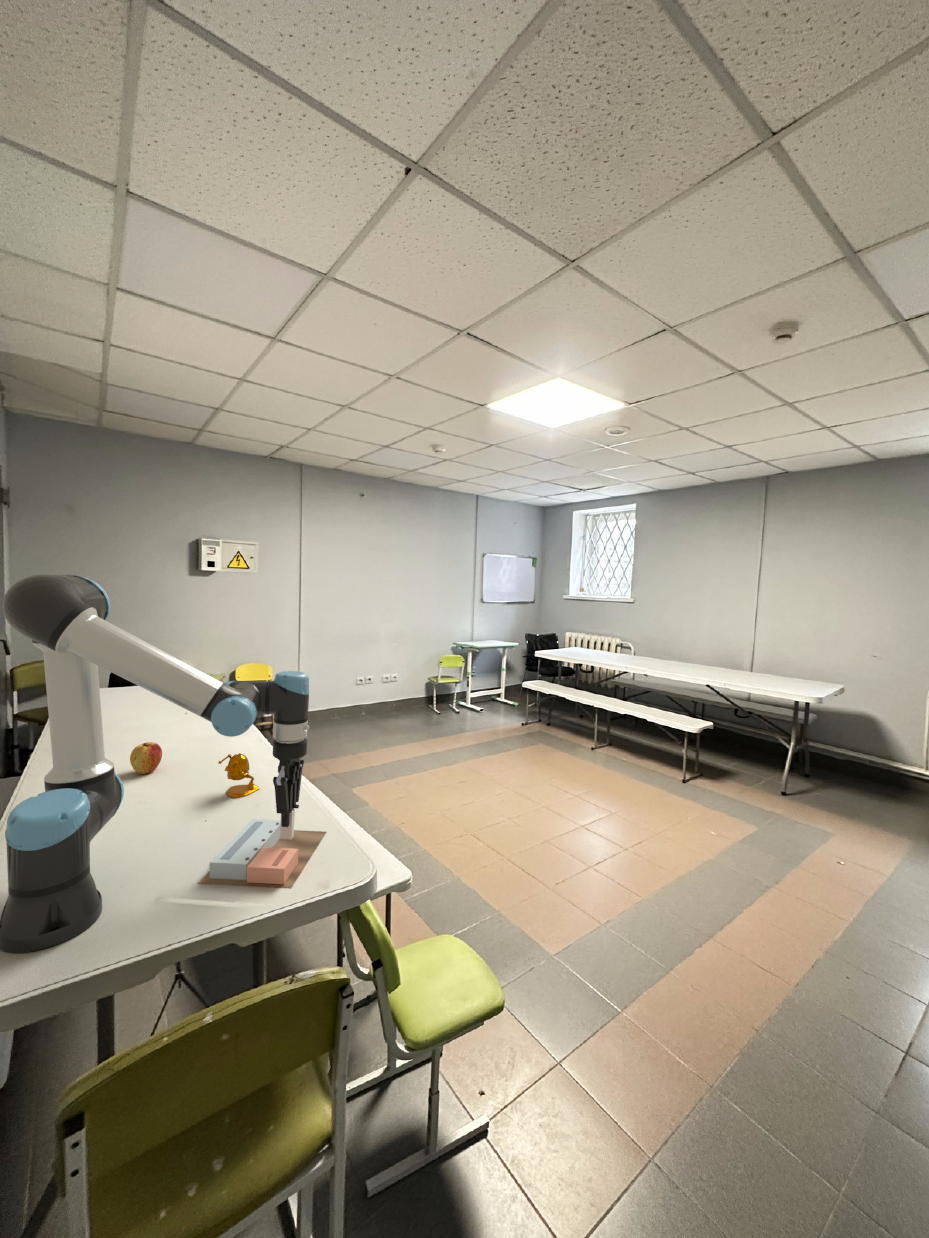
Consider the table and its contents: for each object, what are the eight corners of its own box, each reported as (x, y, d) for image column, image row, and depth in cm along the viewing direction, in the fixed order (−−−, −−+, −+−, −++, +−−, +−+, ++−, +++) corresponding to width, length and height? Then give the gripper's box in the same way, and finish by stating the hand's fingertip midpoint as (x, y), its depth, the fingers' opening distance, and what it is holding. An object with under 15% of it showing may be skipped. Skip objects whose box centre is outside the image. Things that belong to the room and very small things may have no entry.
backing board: (291, 891, 104) (291, 888, 104) (197, 886, 105) (197, 883, 105) (326, 834, 128) (326, 831, 128) (250, 830, 129) (250, 827, 129)
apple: (159, 775, 163) (158, 745, 162) (126, 778, 159) (126, 748, 159) (164, 766, 171) (164, 737, 170) (133, 768, 168) (133, 739, 167)
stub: (284, 884, 105) (284, 868, 105) (246, 882, 105) (246, 866, 105) (298, 863, 113) (298, 848, 113) (263, 861, 113) (263, 846, 113)
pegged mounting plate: (246, 879, 106) (246, 863, 106) (209, 878, 107) (209, 861, 106) (283, 833, 126) (283, 819, 126) (252, 832, 127) (252, 818, 126)
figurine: (217, 791, 152) (217, 753, 151) (254, 783, 159) (254, 746, 158) (225, 801, 145) (225, 761, 145) (263, 792, 152) (263, 754, 151)
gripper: (295, 748, 109) (292, 853, 110) (315, 731, 122) (312, 825, 123) (262, 746, 109) (258, 850, 110) (285, 729, 122) (282, 823, 123)
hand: (287, 837), depth 117 cm, fingers closed
